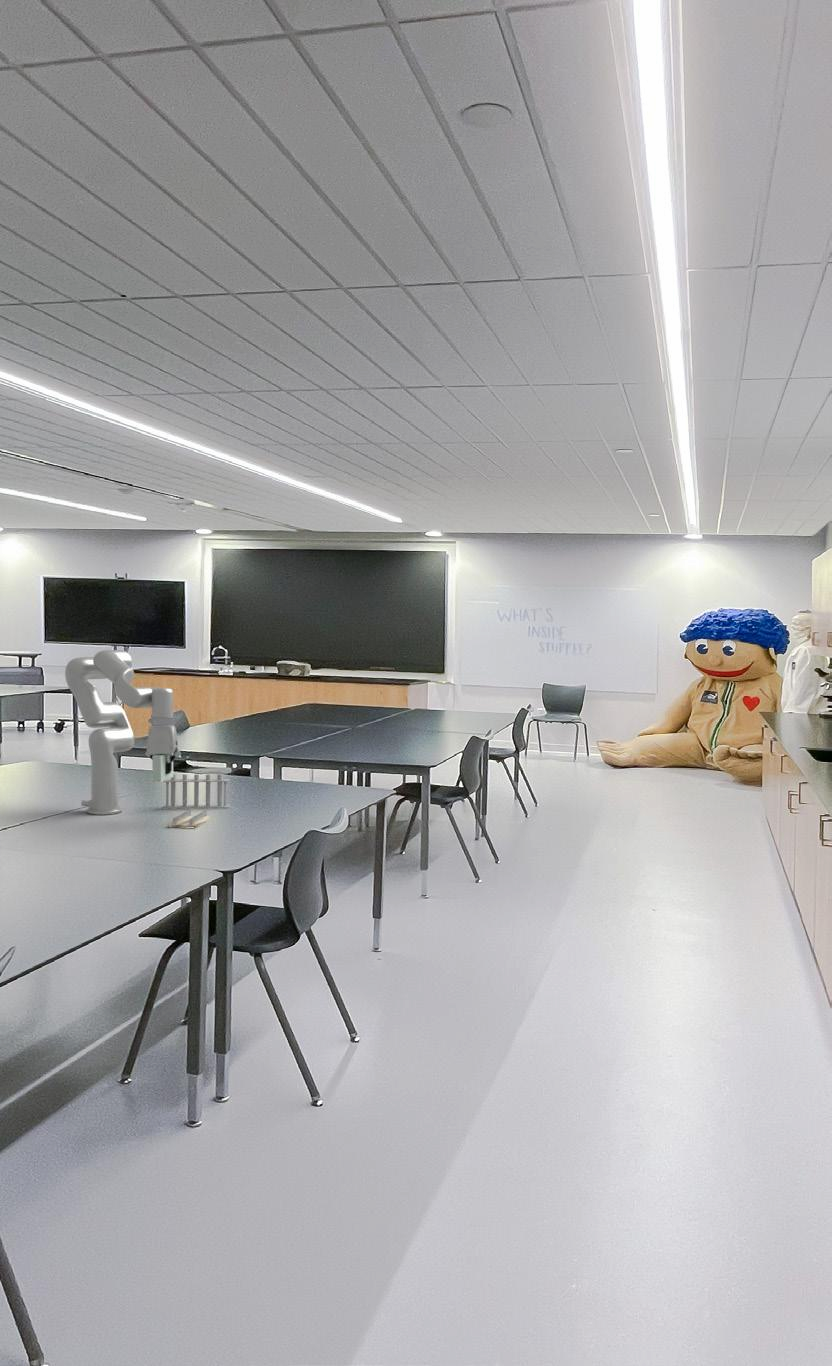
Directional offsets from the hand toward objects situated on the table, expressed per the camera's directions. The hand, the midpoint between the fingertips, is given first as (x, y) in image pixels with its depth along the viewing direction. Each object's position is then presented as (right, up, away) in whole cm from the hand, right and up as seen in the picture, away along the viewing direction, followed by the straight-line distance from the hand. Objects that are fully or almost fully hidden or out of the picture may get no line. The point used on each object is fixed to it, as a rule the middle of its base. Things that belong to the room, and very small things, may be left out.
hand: (163, 773), depth 355 cm
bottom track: (+10, -18, 0) cm, 20 cm away
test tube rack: (+5, -17, +31) cm, 35 cm away
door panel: (0, -2, 0) cm, 2 cm away
